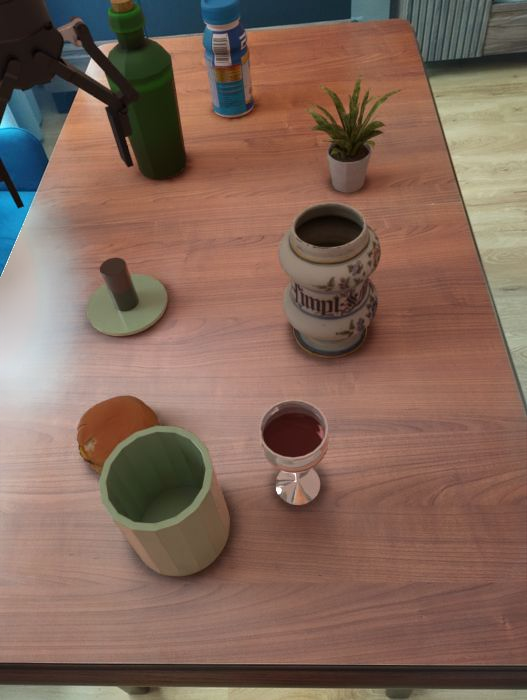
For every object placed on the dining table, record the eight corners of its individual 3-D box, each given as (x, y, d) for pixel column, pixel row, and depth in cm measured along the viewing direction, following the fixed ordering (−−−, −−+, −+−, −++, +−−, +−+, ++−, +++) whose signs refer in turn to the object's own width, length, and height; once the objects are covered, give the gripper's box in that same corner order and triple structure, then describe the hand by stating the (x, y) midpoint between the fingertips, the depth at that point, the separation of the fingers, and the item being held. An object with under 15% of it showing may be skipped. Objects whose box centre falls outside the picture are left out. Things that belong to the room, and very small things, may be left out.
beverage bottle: (204, 109, 117) (185, 1, 101) (236, 92, 120) (222, -15, 104) (231, 124, 113) (216, 13, 97) (263, 106, 116) (253, -4, 100)
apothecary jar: (308, 287, 84) (304, 181, 70) (388, 311, 80) (401, 204, 66) (269, 347, 77) (256, 244, 63) (354, 377, 73) (360, 274, 59)
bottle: (200, 151, 108) (168, -17, 86) (182, 187, 101) (142, 15, 79) (146, 148, 110) (101, -17, 88) (126, 183, 104) (72, 14, 82)
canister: (115, 548, 62) (76, 499, 52) (169, 468, 68) (142, 410, 58) (197, 594, 58) (171, 551, 49) (247, 506, 64) (233, 451, 54)
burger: (178, 424, 71) (169, 403, 68) (138, 490, 66) (127, 472, 63) (111, 400, 74) (100, 379, 71) (68, 462, 69) (54, 442, 66)
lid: (72, 323, 83) (51, 282, 77) (121, 271, 89) (105, 229, 83) (137, 349, 79) (121, 308, 73) (184, 292, 85) (172, 250, 79)
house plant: (375, 147, 104) (381, 54, 91) (410, 191, 95) (423, 95, 82) (299, 167, 102) (295, 75, 89) (329, 214, 93) (329, 119, 81)
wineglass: (255, 478, 66) (244, 422, 56) (303, 446, 68) (299, 387, 59) (291, 525, 62) (285, 473, 53) (341, 489, 64) (343, 433, 55)
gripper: (-146, 38, 48) (-24, 237, 64) (135, -42, 54) (181, 159, 70) (-152, 8, 52) (-36, 202, 69) (109, -62, 58) (158, 132, 75)
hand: (74, 181), depth 70 cm, fingers open, 13 cm apart
